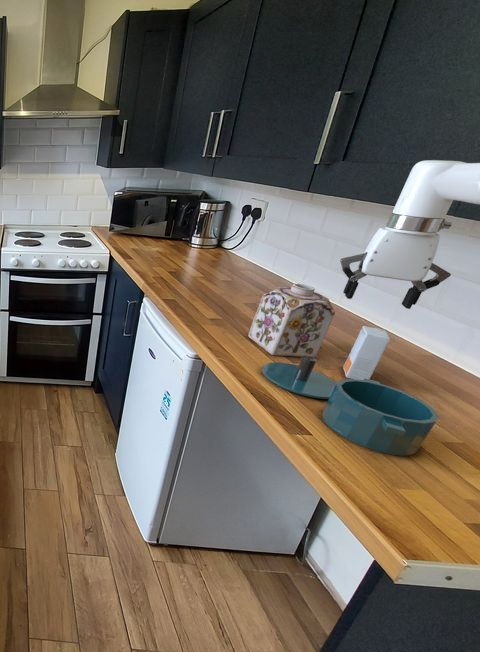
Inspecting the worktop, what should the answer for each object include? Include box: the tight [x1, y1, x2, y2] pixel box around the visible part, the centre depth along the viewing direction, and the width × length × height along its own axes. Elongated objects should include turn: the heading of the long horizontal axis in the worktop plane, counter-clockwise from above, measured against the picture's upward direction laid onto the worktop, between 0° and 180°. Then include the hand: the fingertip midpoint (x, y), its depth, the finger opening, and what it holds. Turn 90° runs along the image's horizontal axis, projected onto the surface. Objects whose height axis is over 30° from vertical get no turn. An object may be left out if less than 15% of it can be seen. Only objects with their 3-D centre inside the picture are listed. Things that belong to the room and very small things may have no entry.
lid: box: [261, 356, 338, 400], centre depth 93 cm, size 15×15×7 cm
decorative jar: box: [247, 283, 336, 358], centre depth 108 cm, size 12×12×18 cm
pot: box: [321, 378, 440, 457], centre depth 78 cm, size 14×19×8 cm
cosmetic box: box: [342, 325, 391, 380], centre depth 96 cm, size 6×4×12 cm
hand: (376, 301), depth 89 cm, fingers open, 9 cm apart
